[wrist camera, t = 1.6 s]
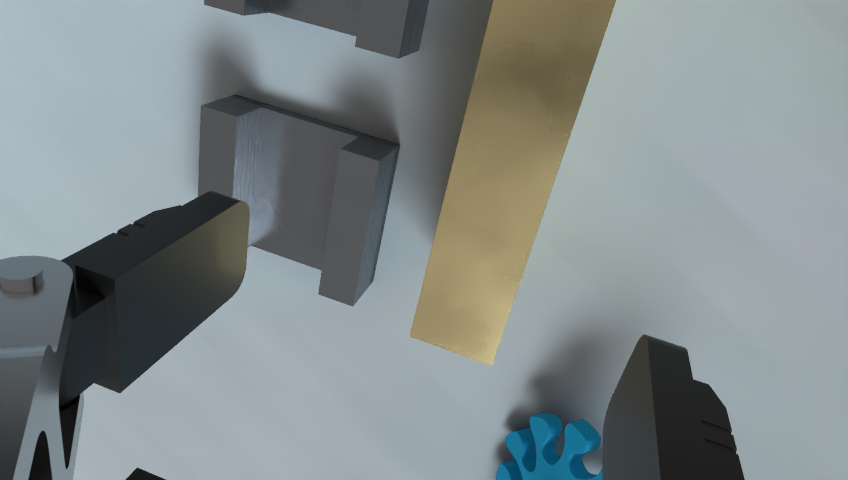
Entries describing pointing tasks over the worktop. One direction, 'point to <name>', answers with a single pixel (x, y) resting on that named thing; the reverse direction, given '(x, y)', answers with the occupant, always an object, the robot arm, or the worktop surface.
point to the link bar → (506, 166)
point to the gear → (549, 451)
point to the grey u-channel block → (311, 154)
